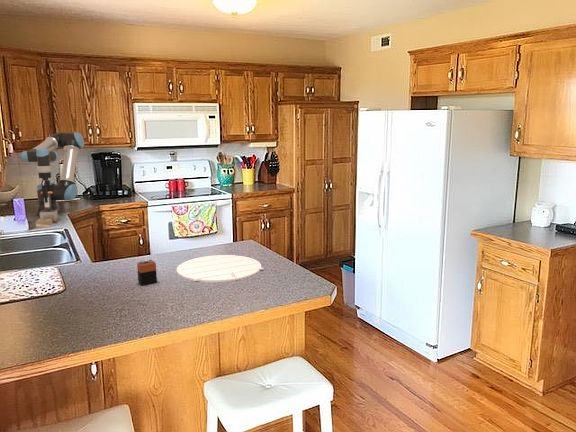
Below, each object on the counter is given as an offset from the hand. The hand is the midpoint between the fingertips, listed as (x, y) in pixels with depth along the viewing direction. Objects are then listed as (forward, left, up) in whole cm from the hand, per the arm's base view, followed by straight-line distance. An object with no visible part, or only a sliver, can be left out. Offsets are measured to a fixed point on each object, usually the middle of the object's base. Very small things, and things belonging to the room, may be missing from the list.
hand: (48, 206), depth 322 cm
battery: (+146, +70, -11) cm, 162 cm away
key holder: (+14, 0, -11) cm, 18 cm away
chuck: (0, 0, -11) cm, 11 cm away
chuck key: (0, 0, -6) cm, 6 cm away
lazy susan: (+133, +102, -11) cm, 168 cm away
